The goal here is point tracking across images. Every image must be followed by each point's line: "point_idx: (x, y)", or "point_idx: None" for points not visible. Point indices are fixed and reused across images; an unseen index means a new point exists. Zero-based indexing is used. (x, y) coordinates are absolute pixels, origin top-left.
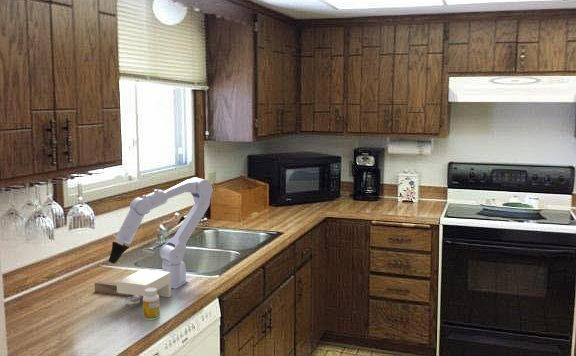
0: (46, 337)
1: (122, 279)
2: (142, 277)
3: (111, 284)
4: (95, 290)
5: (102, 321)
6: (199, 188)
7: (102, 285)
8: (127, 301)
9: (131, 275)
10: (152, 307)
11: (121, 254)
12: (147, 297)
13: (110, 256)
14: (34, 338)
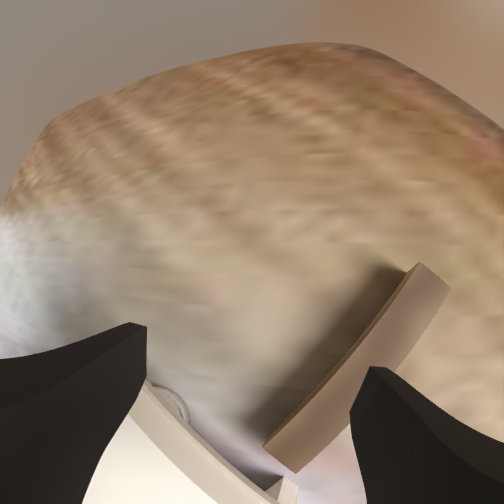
0: (58, 156)
1: None
2: (108, 495)
3: (360, 354)
4: (405, 274)
5: (62, 280)
6: None
7: (389, 305)
8: None
9: (163, 468)
10: None
11: (368, 502)
12: None
13: (92, 341)
14: (68, 135)
